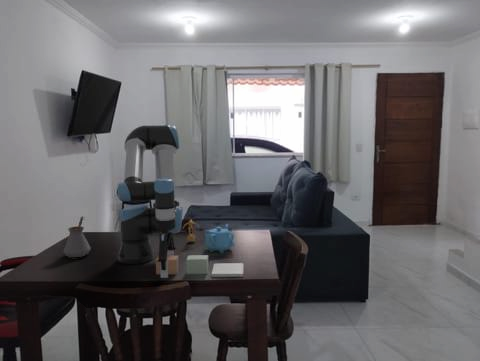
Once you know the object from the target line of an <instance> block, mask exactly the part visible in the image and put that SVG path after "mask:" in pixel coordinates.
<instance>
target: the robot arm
mask: <svg viewBox="0 0 480 361" xmlns="http://www.w3.org/2000/svg"><path fill="white" fill-rule="evenodd" d="M123 146H124V151H125V152H126V153H125V163H124V164H125V165H124V177H123V182H119V183H118V185H117V198H118V200H119V201H120V202H136V201H137V202H138V201H154V202H153V203H152V207H149V206H148V204H135V205H130V206H127V207H125V208H122V209H121V211H120V213H119V214H120V217H119V218H120V220H119V222H120V231H121V232H120V233H121V234H120V235H121V245H120V248H119V252H118V257H117V258H118V262H119V263H122V264H126V265H133V264H134V265H138V264H143V263H147V262H149V261H152V260H154V258H155V251H154V249H153V246H152V244H151V242H150V236H151V235H159V236H158V237H159V246H158V249H159V250H158V256H159V260H158V262H160V273H161V274H160V278H161V279H168V278H169V274H168V261H167V256H175V255H174V251H175V250H176V246H175V242H174V241H175V240H174V234H177V233H180V232H181V230H182V226H183V225H182V224H183V222H182V221H183V211H184V209H183V208H184V207H183V206H182V205H180V202H179V201H178V200H177V199H176V196H177V195H176V181H175V161H174V160H175V158H174V156H175V154H176V153H177V151H178V150H179V149H180V140H179V134H178V130H177V128H176V125H171V124H170V125H169V124H164V125H141V126H138V127H136V128H134V129H133V130H131V132H130V133H129V134H128V135H127V136H126V139H125V140H124V145H123ZM146 151H151V154H153V155H154V162H155V165H154V166H155V169H154V170H155V180H154V181H143V180H144V179H143V178H144V153H145V152H146Z"/></svg>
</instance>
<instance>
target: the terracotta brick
mask: <svg viewBox="0 0 480 361" xmlns="http://www.w3.org/2000/svg"><path fill="white" fill-rule="evenodd" d="M158 260H159V255H158V256H157V257H156V258H155V274H156V275H161V273H160V262H158ZM167 261H168V275H178V272H179V270H180V268H179V267H180V266H179V263H180V262H179V255H174V256H167Z"/></svg>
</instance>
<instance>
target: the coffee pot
mask: <svg viewBox="0 0 480 361" xmlns="http://www.w3.org/2000/svg"><path fill="white" fill-rule="evenodd" d="M79 219H80V220H79V222H78V226H71V227H68V228H67V230H68V231H69V234H68V237H67V240H66V244H65V245H64V248H63V254H64V255H65V256H66V257H68V258H69V257H81V258H83V257H82V256H84V257H86V256H87V255H88V254H89V253H90V251H91V246H90V244H89V242H88V240H87V238H86V237H85V235H84V233H83V230H84V228H85V227H84V226H82V224H83V221H84V219H86V217H85V216H81V217H80V218H79ZM86 254H87V255H86ZM85 255H86V256H85Z"/></svg>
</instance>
